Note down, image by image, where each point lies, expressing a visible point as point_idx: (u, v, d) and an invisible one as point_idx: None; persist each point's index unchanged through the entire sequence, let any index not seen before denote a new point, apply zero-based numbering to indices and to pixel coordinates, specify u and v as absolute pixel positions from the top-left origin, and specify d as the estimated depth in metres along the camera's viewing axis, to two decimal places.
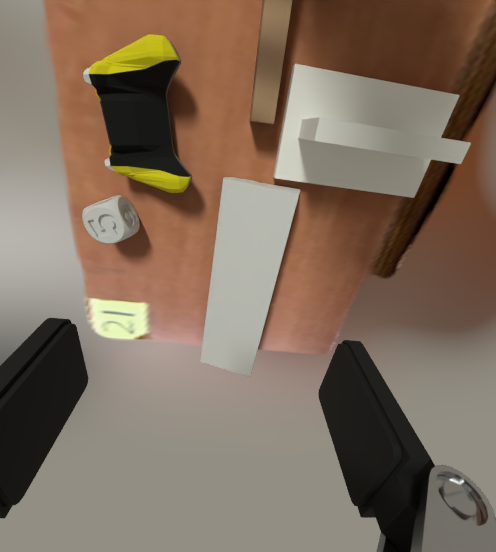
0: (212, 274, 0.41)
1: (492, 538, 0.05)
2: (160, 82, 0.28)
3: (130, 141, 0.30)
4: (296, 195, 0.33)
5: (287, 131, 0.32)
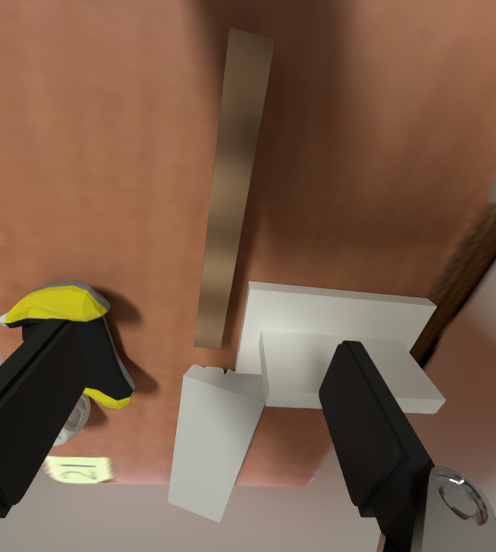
0: (176, 443, 0.38)
1: (491, 537, 0.05)
2: None
3: None
4: (262, 403, 0.30)
5: (246, 338, 0.28)
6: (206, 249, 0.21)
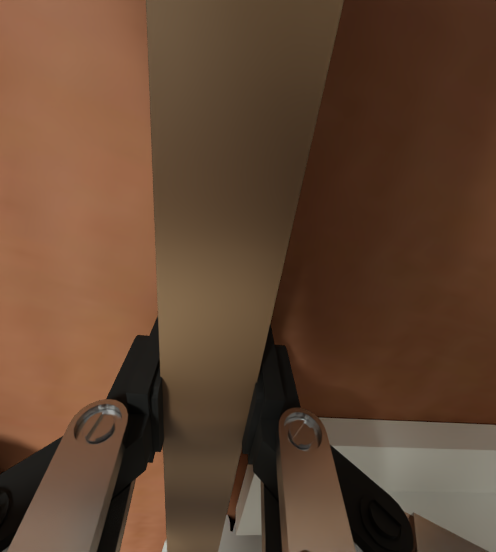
0: None
1: (327, 449, 0.06)
2: None
3: None
4: None
5: (254, 500, 0.16)
6: (166, 438, 0.08)
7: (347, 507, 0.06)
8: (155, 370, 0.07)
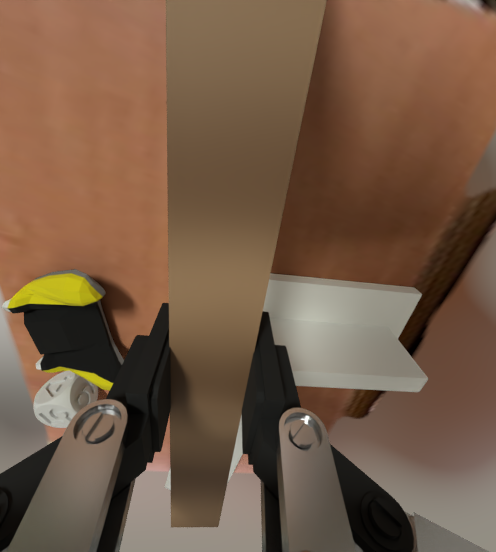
0: None
1: (328, 448, 0.06)
2: None
3: (61, 348, 0.28)
4: None
5: None
6: (173, 407, 0.09)
7: (348, 507, 0.06)
8: (154, 370, 0.07)
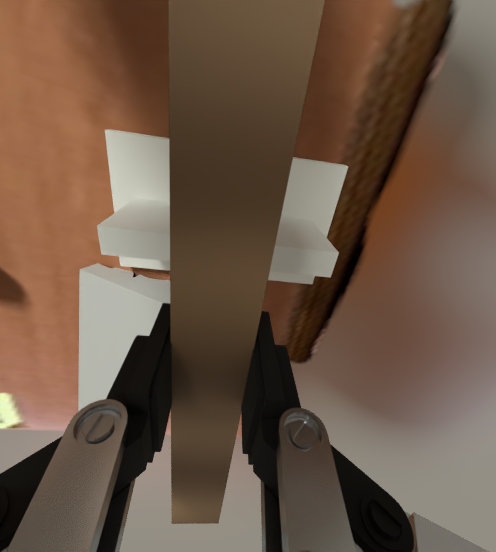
0: (80, 367, 0.32)
1: (328, 448, 0.06)
2: None
3: None
4: None
5: None
6: (174, 404, 0.09)
7: (348, 507, 0.06)
8: (155, 370, 0.07)
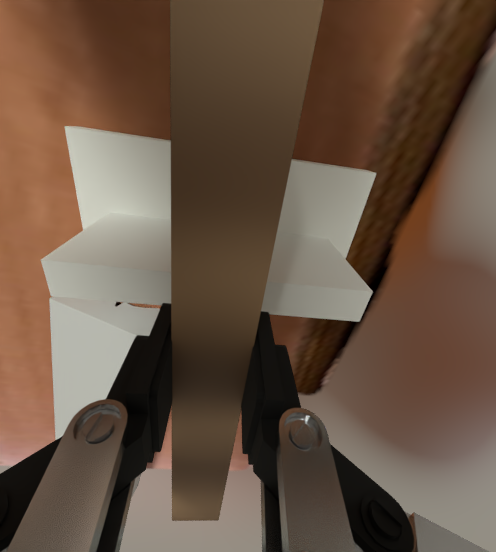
0: (55, 405, 0.28)
1: (328, 448, 0.06)
2: None
3: None
4: None
5: None
6: (175, 400, 0.10)
7: (348, 507, 0.06)
8: (154, 370, 0.07)
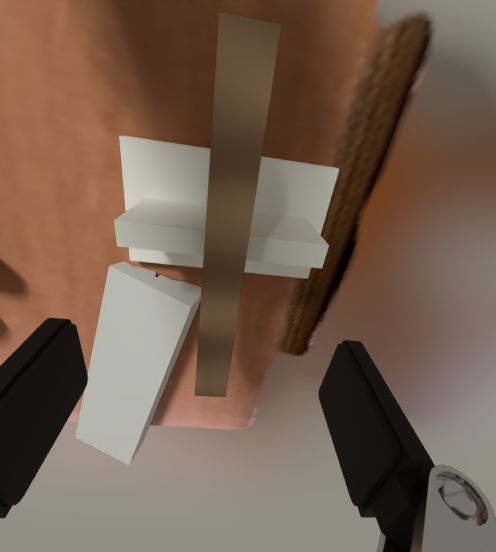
0: (92, 357, 0.34)
1: (492, 537, 0.05)
2: None
3: None
4: (188, 306, 0.28)
5: None
6: (203, 289, 0.17)
7: None
8: None
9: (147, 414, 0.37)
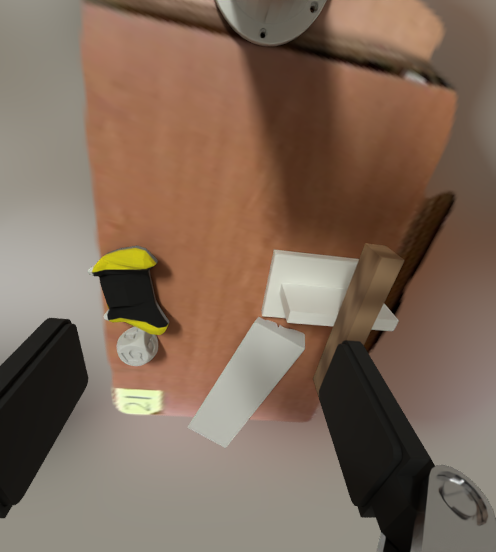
0: (222, 374, 0.51)
1: (492, 537, 0.05)
2: (143, 270, 0.38)
3: (122, 304, 0.40)
4: (303, 348, 0.45)
5: (271, 289, 0.43)
6: None
7: None
8: None
9: (252, 413, 0.54)
